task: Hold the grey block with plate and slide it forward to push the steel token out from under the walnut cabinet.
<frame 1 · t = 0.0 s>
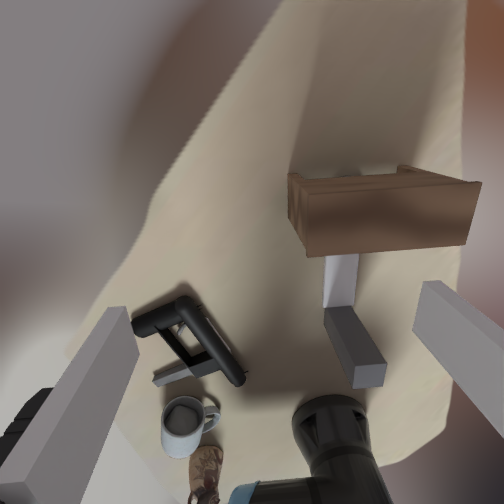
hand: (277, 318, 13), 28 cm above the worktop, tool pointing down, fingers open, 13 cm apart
door handle: (185, 347, 50), on the worktop
figurine: (207, 454, 62), on the worktop
walnut cabinet: (345, 192, 39), on the worktop
grey block with plate: (336, 313, 48), on the worktop
ceramic mug: (192, 407, 56), on the worktop
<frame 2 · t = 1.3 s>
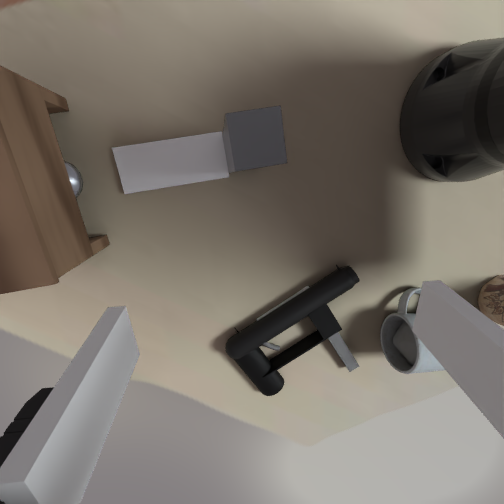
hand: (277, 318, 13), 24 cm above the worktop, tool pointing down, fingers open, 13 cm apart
door handle: (305, 334, 42), on the worktop
figurine: (497, 296, 43), on the worktop
walnut cabinet: (61, 180, 32), on the worktop
grey block with plate: (242, 152, 34), on the worktop
ceramic mug: (404, 319, 43), on the worktop
steel token: (63, 180, 32), on the worktop
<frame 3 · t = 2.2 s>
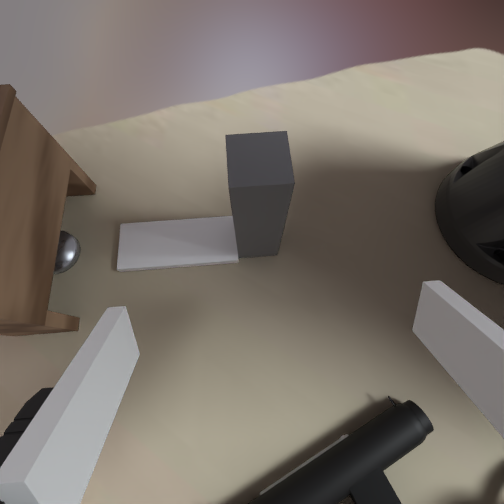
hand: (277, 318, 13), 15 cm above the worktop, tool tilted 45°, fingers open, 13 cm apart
walnut cabinet: (58, 253, 30), on the worktop
grey block with plate: (256, 238, 30), on the worktop
steel token: (60, 254, 30), on the worktop
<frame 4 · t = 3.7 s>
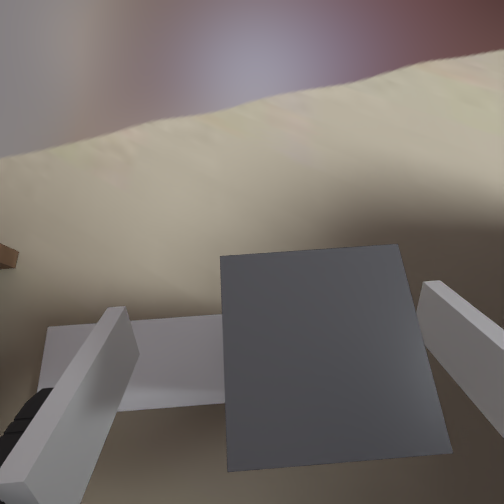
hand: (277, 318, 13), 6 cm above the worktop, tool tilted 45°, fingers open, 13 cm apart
grey block with plate: (275, 352, 18), on the worktop
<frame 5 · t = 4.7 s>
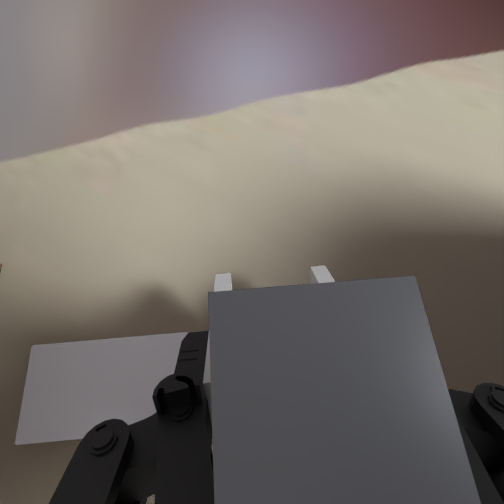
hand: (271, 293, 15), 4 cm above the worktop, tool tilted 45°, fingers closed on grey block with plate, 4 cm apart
grey block with plate: (274, 369, 17), on the worktop, touching gripper
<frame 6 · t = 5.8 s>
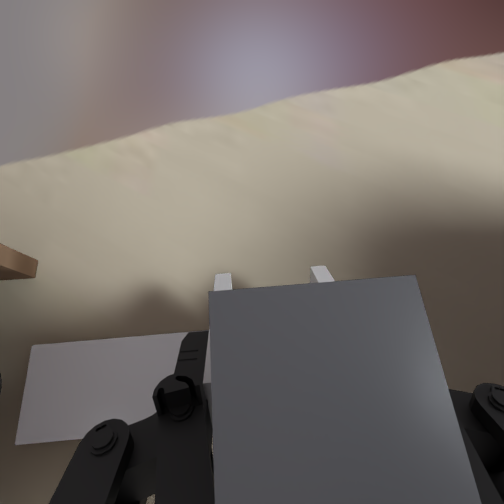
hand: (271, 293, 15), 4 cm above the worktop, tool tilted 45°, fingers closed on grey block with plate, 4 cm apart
grey block with plate: (274, 369, 17), on the worktop, touching gripper
when the fingers open (4 cm above the worktop, at t = 8.9 s): grey block with plate stays where it is, on the worktop.
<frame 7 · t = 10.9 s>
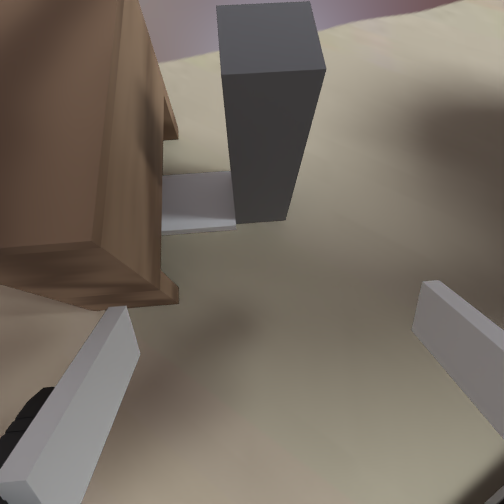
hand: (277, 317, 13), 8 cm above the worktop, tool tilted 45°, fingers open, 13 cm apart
walnut cabinet: (141, 208, 23), on the worktop
grey block with plate: (258, 200, 24), on the worktop
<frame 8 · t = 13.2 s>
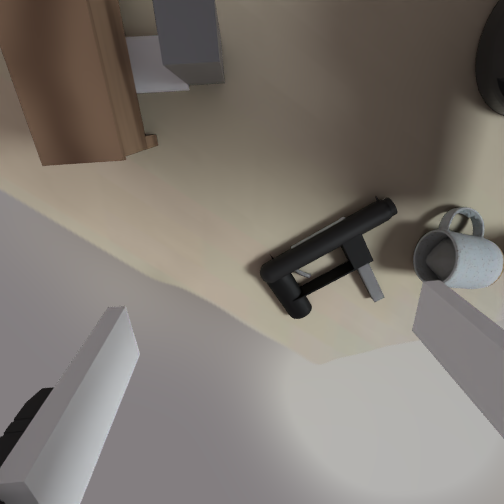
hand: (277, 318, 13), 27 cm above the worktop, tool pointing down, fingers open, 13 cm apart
door handle: (335, 265, 43), on the worktop
walnut cabinet: (115, 68, 31), on the worktop
grey block with plate: (204, 63, 31), on the worktop
ceramic mug: (441, 240, 42), on the worktop
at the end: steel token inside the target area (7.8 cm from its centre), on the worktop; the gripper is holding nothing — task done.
